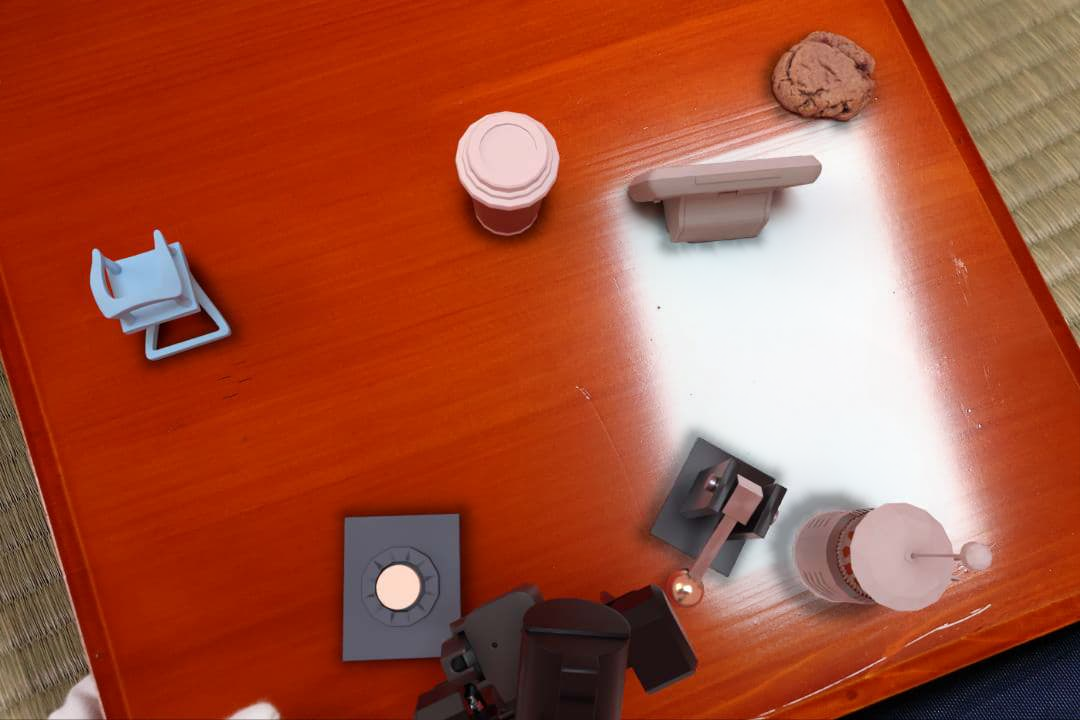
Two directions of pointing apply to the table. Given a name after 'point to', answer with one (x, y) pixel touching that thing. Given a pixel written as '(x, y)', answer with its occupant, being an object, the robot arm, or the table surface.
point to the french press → (880, 556)
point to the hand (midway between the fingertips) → (551, 622)
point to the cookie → (824, 77)
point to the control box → (400, 542)
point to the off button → (399, 586)
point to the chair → (153, 294)
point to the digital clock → (721, 195)
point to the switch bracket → (713, 505)
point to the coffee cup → (507, 169)
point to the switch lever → (714, 543)
